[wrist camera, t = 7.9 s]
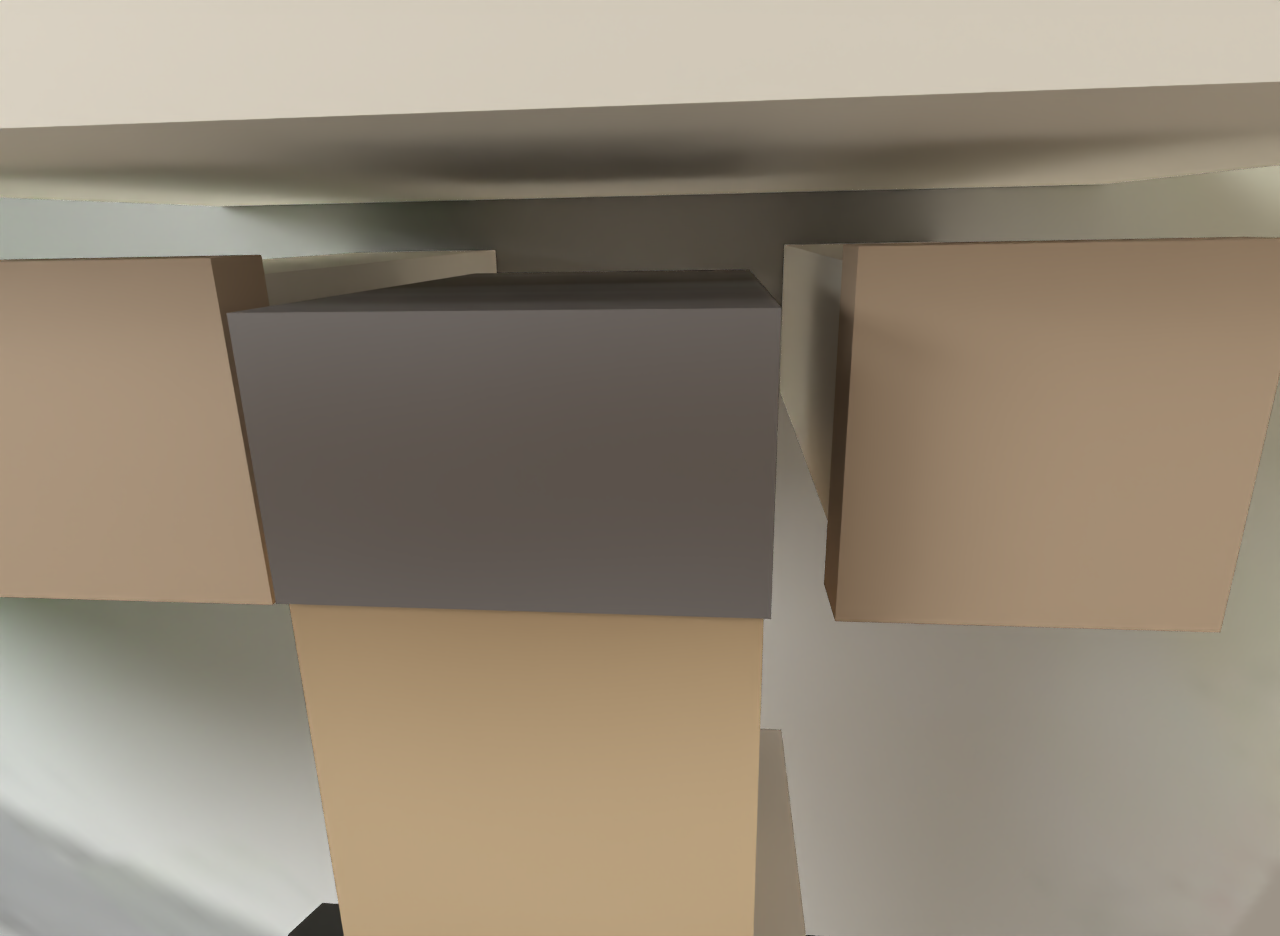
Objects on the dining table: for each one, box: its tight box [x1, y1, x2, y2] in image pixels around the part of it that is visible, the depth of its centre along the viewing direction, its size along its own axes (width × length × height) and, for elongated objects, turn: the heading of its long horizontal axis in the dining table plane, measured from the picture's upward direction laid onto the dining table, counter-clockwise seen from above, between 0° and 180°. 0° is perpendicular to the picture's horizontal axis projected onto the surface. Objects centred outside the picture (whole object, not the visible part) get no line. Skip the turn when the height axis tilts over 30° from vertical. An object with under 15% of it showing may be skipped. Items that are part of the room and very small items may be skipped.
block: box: [227, 270, 782, 936], centre depth 11 cm, size 18×4×6 cm, turn 1°
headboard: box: [0, 0, 1280, 632], centre depth 10 cm, size 18×6×12 cm, turn 91°
